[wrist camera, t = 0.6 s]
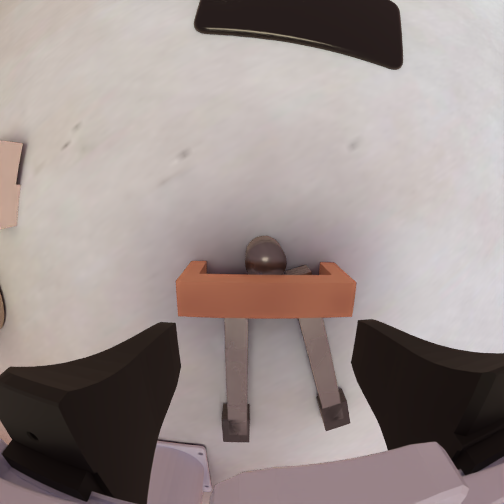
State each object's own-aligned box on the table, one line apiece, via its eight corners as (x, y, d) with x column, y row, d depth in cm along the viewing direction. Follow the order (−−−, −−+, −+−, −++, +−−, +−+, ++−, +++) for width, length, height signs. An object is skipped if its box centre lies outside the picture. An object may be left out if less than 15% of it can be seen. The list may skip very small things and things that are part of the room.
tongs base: (218, 235, 19) (214, 242, 17) (282, 235, 19) (287, 243, 17) (224, 426, 23) (222, 446, 20) (271, 426, 23) (273, 446, 20)
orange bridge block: (191, 260, 19) (175, 281, 15) (334, 262, 19) (356, 282, 15) (192, 289, 20) (178, 316, 15) (331, 290, 20) (351, 316, 15)
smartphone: (395, 7, 16) (212, -30, 15) (400, 2, 15) (211, -36, 14) (399, 75, 17) (192, 36, 17) (405, 72, 16) (189, 30, 16)
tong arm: (281, 271, 20) (284, 279, 18) (313, 262, 19) (318, 269, 18) (322, 418, 22) (325, 431, 21) (345, 411, 22) (350, 423, 21)
